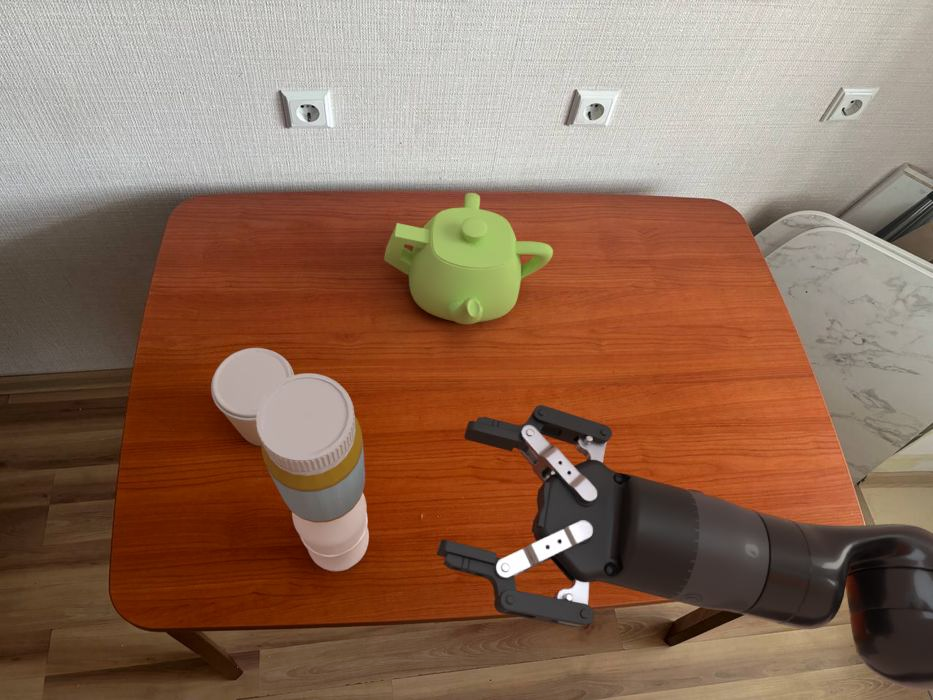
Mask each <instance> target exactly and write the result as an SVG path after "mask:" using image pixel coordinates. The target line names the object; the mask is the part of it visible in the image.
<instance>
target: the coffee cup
mask: <svg viewBox="0 0 933 700" xmlns="http://www.w3.org/2000/svg"><path fill="white" fill-rule="evenodd" d="M294 373H295V372H294V371H293V368H292V366H291V364H290V362H289V361H288V360H287V359H286V358H285V357H284V356H283V355H281V354H280V353H278V352H276V351H273V350H270V349H267V348H262V347H250V348H245V349H241V350H238V351H236V352H234V353H231V354H230V355H229V356H228V357H226V358H225V359H224V360H223V361H222V362H221V363H220V364H219V365H218V367H217V368H216V370H215V372H214V374H213V375H212V380H211V385H210V393H211V397H212V400H213V402H214V404H215V405H216V407H217V408H218V409H219V410H220V412H222V413H223V415H225V416H226V418H227V419H228V420H229V422H230V423H231V424H232V425H233V427H234V428H235V430H237V431H238V433H239V435H241V437H243V438H244V440H246V441H247V442H249V443H250V444H251V445H254V446H256V447H257V446H258V447H261V445H262V442H261V440H260V438H259V434H258V432H257V428H256V425H257V423H256V416H257V411H258V408H259V405H260V403H261V401H262V399H263V397H264V396H265V394H266V393H267V392H268V391H269V390H270V389H271V388H272V387H273V386H274V385H275V384H277V383H278V382H280V381H282V380H283V379H285V378H288V377H290V376H294V375H295V374H294Z"/></svg>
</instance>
